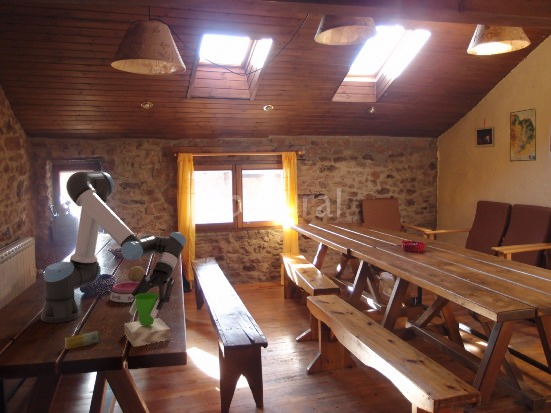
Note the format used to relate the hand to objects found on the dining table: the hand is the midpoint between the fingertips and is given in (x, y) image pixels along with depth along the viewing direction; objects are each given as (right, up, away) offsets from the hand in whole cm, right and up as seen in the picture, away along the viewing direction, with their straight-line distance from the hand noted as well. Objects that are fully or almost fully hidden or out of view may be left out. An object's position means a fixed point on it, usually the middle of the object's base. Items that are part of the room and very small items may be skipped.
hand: (141, 315), depth 179 cm
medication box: (-21, -10, -4) cm, 24 cm away
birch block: (+1, -10, +4) cm, 11 cm away
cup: (+1, -4, +3) cm, 6 cm away
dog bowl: (-22, -5, +55) cm, 60 cm away
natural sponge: (-27, -2, +82) cm, 86 cm away
